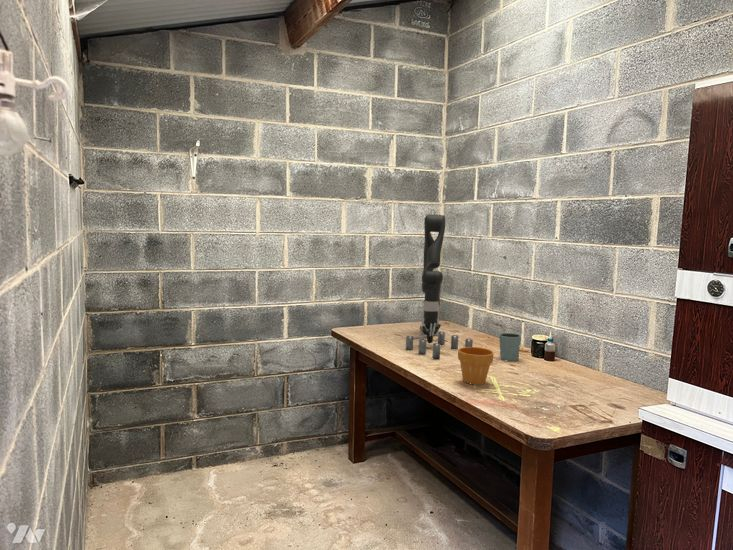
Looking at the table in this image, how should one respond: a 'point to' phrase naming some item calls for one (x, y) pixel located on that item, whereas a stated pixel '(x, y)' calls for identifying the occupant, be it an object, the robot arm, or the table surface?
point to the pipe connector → (420, 336)
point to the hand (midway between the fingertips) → (429, 342)
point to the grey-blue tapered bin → (509, 346)
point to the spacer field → (436, 344)
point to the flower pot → (475, 364)
